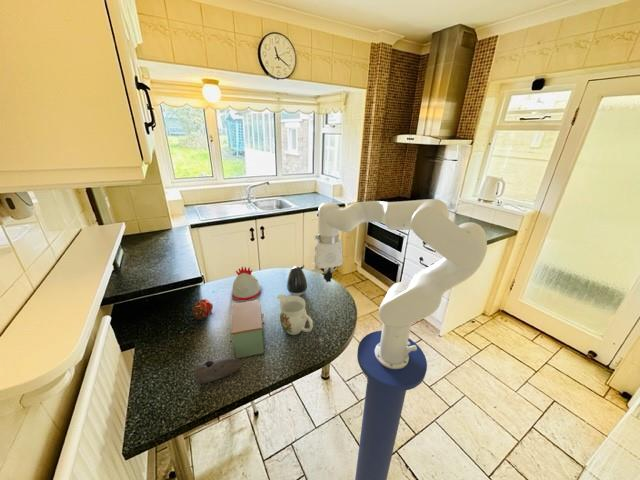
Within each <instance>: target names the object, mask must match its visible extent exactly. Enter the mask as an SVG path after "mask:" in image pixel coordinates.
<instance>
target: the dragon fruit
mask: <svg viewBox="0 0 640 480" xmlns="http://www.w3.org/2000/svg"><path fill="white" fill-rule="evenodd" d="M213 306H214V305H213V303H212V302H211V301H209V300H208V299H206V298H205V299H203V298H202V299H200V300H199V301H196V302H195V303H194V305H193V307H191V312H192V313H191V317H192V318H195V320H202V321H204V320H206V319H207V317H209V316H211V315H212V314H213V312H212V310H213Z"/></svg>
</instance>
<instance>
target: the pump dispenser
mask: <svg viewBox="0 0 640 480" xmlns="http://www.w3.org/2000/svg"><path fill="white" fill-rule="evenodd" d="M304 268H305V264H302V265H301V266H293V267H292V268H291V269H290V271H289V274H288V277H287V281H286V289H287V291H288V293H289V294H290V296H298V297H301V296H302V295H304V294H305V292H306V291H307V288H308V282H307V278H306V275H305V273H304V271H303V269H304Z"/></svg>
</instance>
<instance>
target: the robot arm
mask: <svg viewBox="0 0 640 480" xmlns="http://www.w3.org/2000/svg"><path fill="white" fill-rule="evenodd" d="M317 211H318V217H317V218H318V219H317V221H318V223H317V225H318V226H317V227H318V232H317V234H316V235H314V240H316V242H315V248H314V256H313V260H314V265H313V268H314V269H315V270H320V271H321V272H323V279H324V281H325V282H326V283H331V281H332V279H333V273H334V271H335V270H336V269H337V268H339V267H341V266H342V265H343V263H344V262H343V261H344V260H343V259H344V258H343V245H342V244H343V243H342V240H341V239H340V232H343V233H350V232H352V231H353V230H355V229H356V228H357V227H358V226H359V225H360V224H363V223H381V224H383V225H385V226H386V228H387V230H391V231H407V230H408V231H410V230H412V232H413V234H415V235H416V236H417V237H418V238H419V239H420V240H421V241H423V243H425V244H426V245H427V246H428V247H430V248H432V249H433V250H434V251H435V252H437V253H438V254H439V255H440V256H441V257H442V258H441V259H439V260H437V261H436V262H434V263H432V264H431V265H429V266H427V267H425V268H424V269H422V270H420V271H418V272H417V273H415V274H414V275H413V276H412V278H411V280H410V282H409V283H408V282H405V281H398V282H395V283H393V284H392V285H391V286H390V287H389V288H388V290H387V292H386V294H385V295H384V297H383V299H382V301H381V303H380V305H379V308H378V317H379V319H380V321H381V323H382V327H381V331H382V333H381V340H380V343H379V344H377V346H376V348H375V357H376V359H377V360H378V361H379V362H380V363H381V364H382V365H383V366H385V367H387V368H390V369H401V368H404V367H405V366H406V365H407V364H408V361H409V355H408V353H410V351H416V350H417V347H416V345H413V346H409V347H408V345H410V342H408V338H409V339H410V333H411V328H412V324H415V323H417V322H419V321H421V320H424V319H426V318H428V317H430V316H431V315H433V314H434V313H435V312H436V311H437V310H438V309H439V308H440V304H441V302H442V299H443V295H444V294H445V293H446V292H448V291H450V290H452V289H453V288H455V287H456V286H458V285H460V284H462V283H464V282H466V281H467V280H468V279H470V278H471V277H472V276H473V275H474V274H475V273H476V272H477V271H478V270H479V268H480V267H481V265H482V264H483V261H484V260H485V257H486V254H487V249H488V240H487V233H486V231H485V229H484V228H483V227H482V225H480V224H478V223H476V222H471V221H467V222H463V223H461V224H459V225H458V224H456V223H455V222H454V221H453V220H451V219H450V218H449V217H450V211H449V207H448V205H447V204H446V202H444V201H442V200H441V199H437V198H436V199H435V198H429V199H416V200H415V199H414V200H404V201H403V200H402V201H384V200H383V201H381V200H369V201H358V202H353V203H351V204H349V205H347V206H345V207H343V208H341V207H340V205H338V204H337V203H334V202H324V203H321V204H320V205H319V207H318V210H317Z"/></svg>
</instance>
